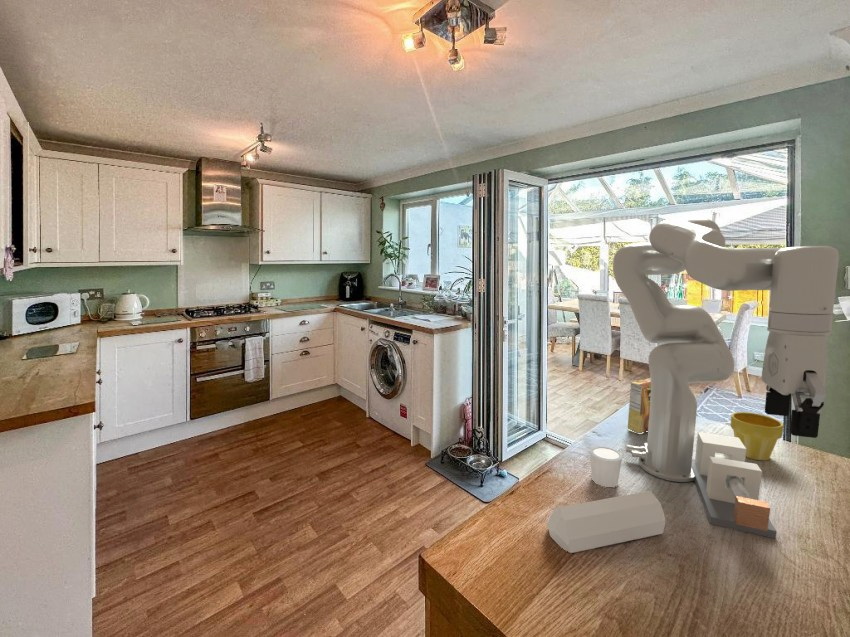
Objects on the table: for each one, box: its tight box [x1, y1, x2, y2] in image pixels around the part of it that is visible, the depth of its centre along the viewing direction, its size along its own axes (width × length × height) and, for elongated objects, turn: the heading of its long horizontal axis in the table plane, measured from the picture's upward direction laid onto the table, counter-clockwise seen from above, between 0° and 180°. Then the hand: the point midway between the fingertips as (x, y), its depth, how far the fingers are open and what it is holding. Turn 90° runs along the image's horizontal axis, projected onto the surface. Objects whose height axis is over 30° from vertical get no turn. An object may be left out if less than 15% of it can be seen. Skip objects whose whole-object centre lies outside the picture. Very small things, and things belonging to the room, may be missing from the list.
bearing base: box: [691, 431, 777, 540], centre depth 85 cm, size 24×10×10 cm, turn 154°
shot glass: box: [589, 446, 623, 488], centre depth 91 cm, size 7×7×7 cm
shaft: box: [723, 458, 771, 531], centre depth 79 cm, size 20×4×4 cm, turn 154°
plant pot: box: [730, 411, 784, 461], centre depth 102 cm, size 10×10×10 cm
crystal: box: [546, 490, 666, 554], centre depth 74 cm, size 7×7×24 cm
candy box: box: [627, 377, 651, 433], centre depth 117 cm, size 9×4×15 cm, turn 116°
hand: (788, 424), depth 66 cm, fingers open, 9 cm apart
